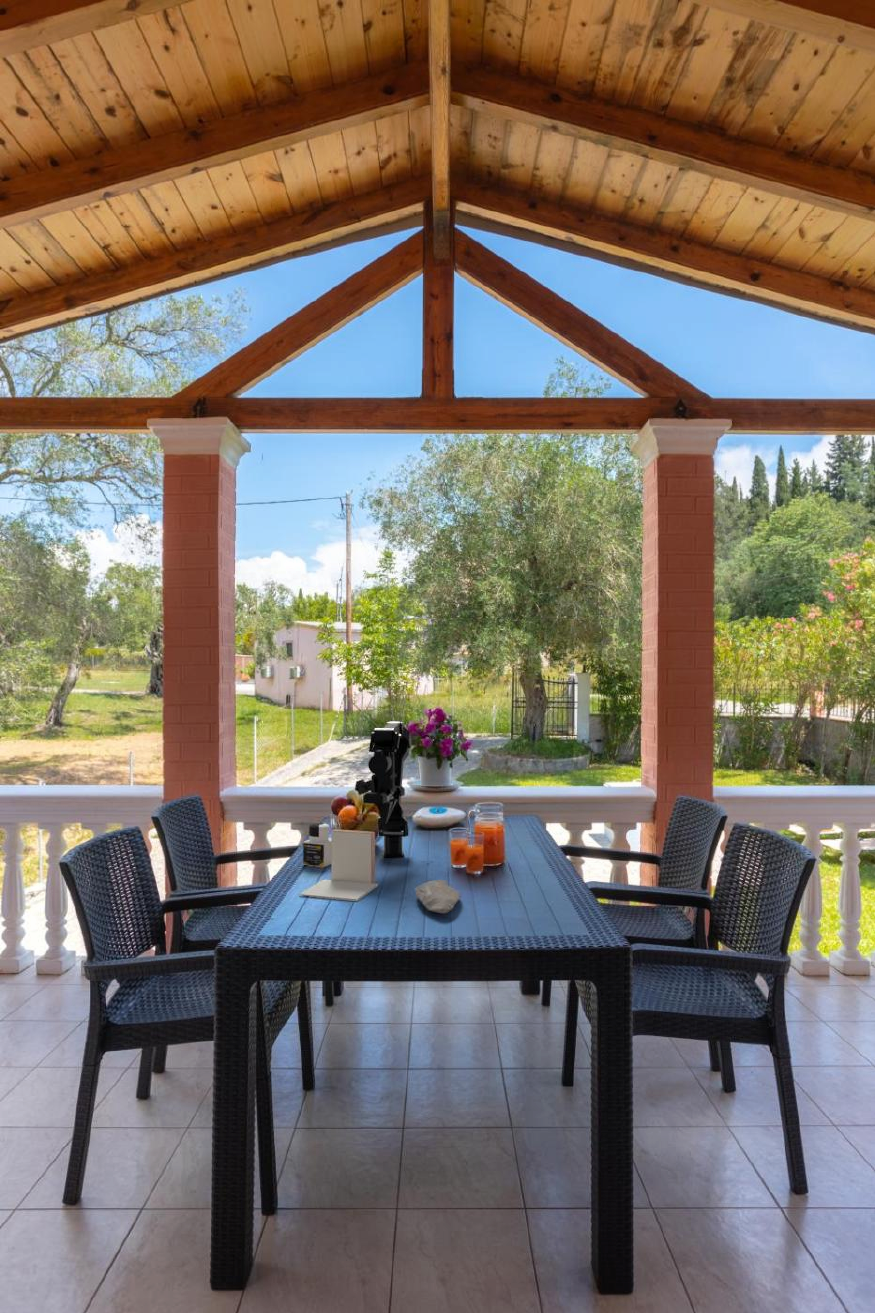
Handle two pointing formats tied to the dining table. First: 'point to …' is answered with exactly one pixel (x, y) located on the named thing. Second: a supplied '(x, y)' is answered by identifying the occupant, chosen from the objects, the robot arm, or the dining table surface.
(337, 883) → the cream square plate
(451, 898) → the stone tool
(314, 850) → the medicine bottle
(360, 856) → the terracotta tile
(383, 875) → the dining table surface
